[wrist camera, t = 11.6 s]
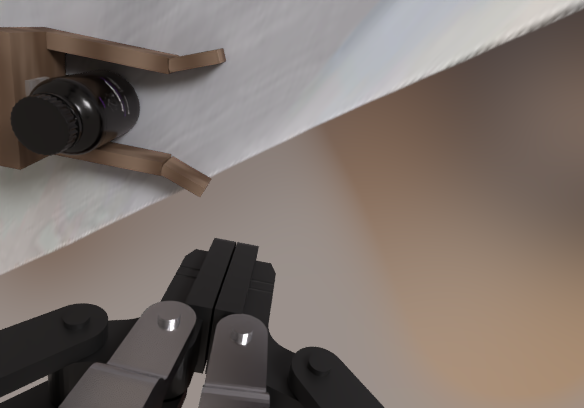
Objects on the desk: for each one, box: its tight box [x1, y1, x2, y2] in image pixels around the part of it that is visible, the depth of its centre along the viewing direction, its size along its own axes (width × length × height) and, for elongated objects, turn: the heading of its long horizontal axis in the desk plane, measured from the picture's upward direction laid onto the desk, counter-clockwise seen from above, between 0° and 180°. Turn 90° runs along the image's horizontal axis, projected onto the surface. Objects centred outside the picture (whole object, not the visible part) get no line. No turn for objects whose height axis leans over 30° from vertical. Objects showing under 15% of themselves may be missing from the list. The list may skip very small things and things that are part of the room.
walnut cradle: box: [0, 27, 226, 197], centre depth 39 cm, size 18×15×8 cm
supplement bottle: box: [10, 70, 140, 155], centre depth 37 cm, size 7×7×12 cm
